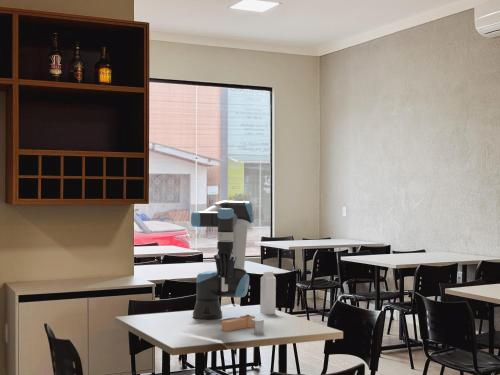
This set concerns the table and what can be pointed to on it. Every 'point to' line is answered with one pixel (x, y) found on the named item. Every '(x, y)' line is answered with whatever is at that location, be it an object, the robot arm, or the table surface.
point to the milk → (268, 293)
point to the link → (237, 323)
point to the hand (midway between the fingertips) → (224, 291)
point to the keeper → (258, 325)
